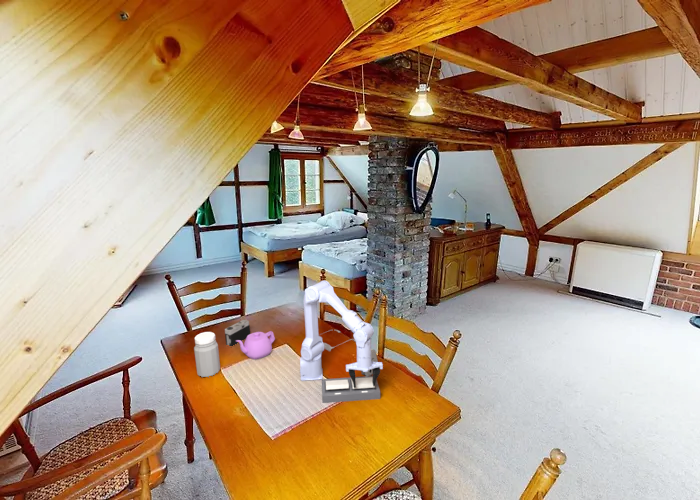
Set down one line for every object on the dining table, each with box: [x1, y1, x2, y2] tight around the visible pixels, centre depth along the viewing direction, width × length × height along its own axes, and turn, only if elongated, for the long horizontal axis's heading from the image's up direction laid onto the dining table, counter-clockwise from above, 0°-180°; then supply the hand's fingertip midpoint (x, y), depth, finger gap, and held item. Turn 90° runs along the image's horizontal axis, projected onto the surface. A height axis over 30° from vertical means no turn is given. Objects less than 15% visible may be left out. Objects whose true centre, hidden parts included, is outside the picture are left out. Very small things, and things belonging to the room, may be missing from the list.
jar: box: [193, 331, 221, 378], centre depth 150 cm, size 10×10×18 cm
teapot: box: [236, 330, 276, 360], centre depth 167 cm, size 13×20×11 cm
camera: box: [224, 319, 251, 347], centre depth 180 cm, size 14×9×10 cm, turn 144°
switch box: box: [321, 375, 381, 404], centre depth 139 cm, size 23×11×3 cm, turn 96°
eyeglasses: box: [321, 329, 356, 352], centre depth 179 cm, size 15×18×4 cm
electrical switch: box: [360, 349, 379, 377], centre depth 152 cm, size 9×5×9 cm, turn 141°
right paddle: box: [351, 377, 375, 389], centre depth 139 cm, size 9×6×2 cm, turn 96°
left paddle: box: [326, 380, 349, 390], centre depth 138 cm, size 9×6×2 cm, turn 96°
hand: (364, 385), depth 135 cm, fingers open, 7 cm apart
